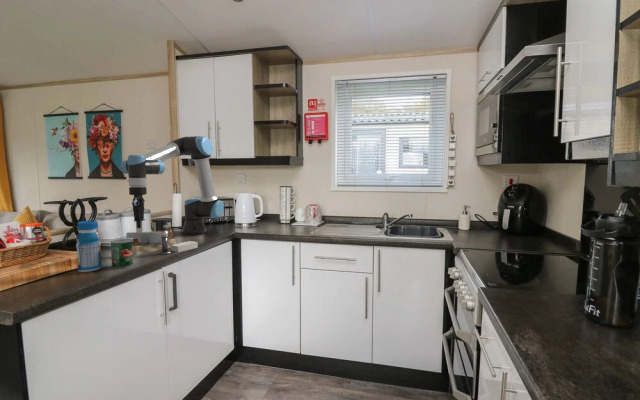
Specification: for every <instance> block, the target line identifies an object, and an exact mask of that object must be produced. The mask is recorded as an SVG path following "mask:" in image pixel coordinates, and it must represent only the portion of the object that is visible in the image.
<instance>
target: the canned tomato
mask: <svg viewBox="0 0 640 400" xmlns="http://www.w3.org/2000/svg"><path fill="white" fill-rule="evenodd" d="M132 245H133V239H132V238H120V239H115V240H111V241H110V249H111V251H110V252H111V253H110V254H111V268H112V269H125V268H129V267H132V266H133V265H134V258H133V257H134V254H133V253H132V252H133V251H132Z"/></svg>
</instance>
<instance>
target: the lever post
mask: <svg viewBox="0 0 640 400" xmlns="http://www.w3.org/2000/svg"><path fill="white" fill-rule="evenodd" d="M172 252H173V251H171V250H169V248H168V239H167V237H162V250H159V251H158V256H159V255H160V256H165V255H171V254H172Z"/></svg>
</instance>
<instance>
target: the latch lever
mask: <svg viewBox="0 0 640 400" xmlns="http://www.w3.org/2000/svg"><path fill="white" fill-rule="evenodd" d="M125 237H126V238H125V239H134V238H152V237H168V231H162V232H152V231H143V232H135V231H134V232H133V231H132V232H131V231H130V232H129V231H128V232H126V233H125Z"/></svg>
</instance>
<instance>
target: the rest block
mask: <svg viewBox="0 0 640 400" xmlns="http://www.w3.org/2000/svg"><path fill="white" fill-rule="evenodd" d="M198 245H199V244H198V241H193V240H188V241H184V242H183V241H182V242H179V243H176V244H174V245H171V248H170V251H172V252H175V253H181V252H186V251H189V250H190V251H191V250H194V249H197V248H199V246H198Z"/></svg>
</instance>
